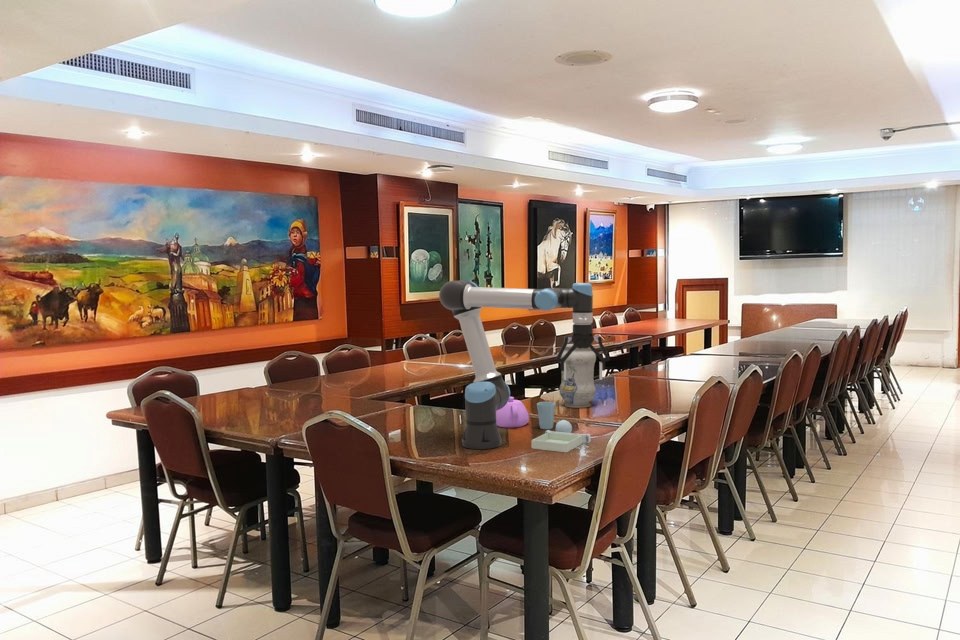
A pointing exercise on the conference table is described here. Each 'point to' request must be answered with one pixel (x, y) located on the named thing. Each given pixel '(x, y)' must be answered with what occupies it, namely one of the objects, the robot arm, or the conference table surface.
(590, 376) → the vase
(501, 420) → the teapot
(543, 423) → the cup
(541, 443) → the tray
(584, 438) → the white bar handle
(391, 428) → the conference table surface
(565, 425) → the ball
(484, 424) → the robot arm
